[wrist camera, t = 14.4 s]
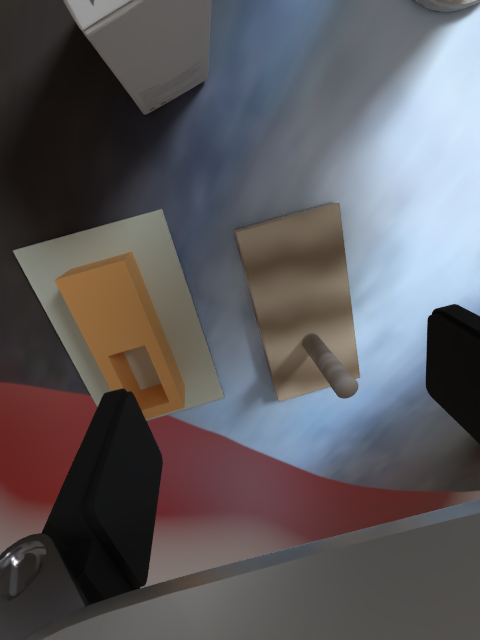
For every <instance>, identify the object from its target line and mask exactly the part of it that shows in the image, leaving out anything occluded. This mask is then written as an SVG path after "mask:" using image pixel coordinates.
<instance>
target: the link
mask: <svg viewBox="0 0 480 640" xmlns="http://www.w3.org/2000/svg"><path fill="white" fill-rule="evenodd" d="M55 282H56V284H57V286H58V288H59V290H60V292H61V294H62V296H63V298H64V300H65V302H66V304H67V306H68V308H69V310H70V312H71V314H72V316H73V317H74V319H75V321H76V323H77V325H78V327H79V329H80V331H81V333H82V335H83V337H84V339H85V341H86V343H87V345H88V347H89V349H90V351H91V353H92V355H93V357H94V358H95V360H96V362H97V364H98V366H99V368H100V370H101V372H102V374H103V376H104V378H105V380H106V382H107V384H108V386H109V388H110V390H111V391H114V390H118V389H122V388H124V389H125V390H126V391H127V392H129V391H132V392H133V394H134V395H135V398H136V400H137V402H138V404H139V406H140V408H141V411H142V413H143V415H144V417H145V419H149V418H152V417H156V416H159V415H162V414H166V413H169V412H172V411H175V410H179V409H182V408H185V384H184V382H183V379H182V377H181V374H180V372H179V369H178V367H177V364H176V361H175V359H174V356H173V354H172V351H171V349H170V346H169V344H168V341H167V339H166V336H165V334H164V331H163V329H162V326H161V324H160V321H159V318H158V316H157V313H156V311H155V308H154V306H153V303H152V301H151V298H150V296H149V293H148V291H147V288H146V286H145V283H144V280H143V278H142V275H141V273H140V270H139V268H138V265H137V263H136V260H135V258H134V255H133V253H132V252H128V253H125V254H121V255H118V256H114V257H111V258H107V259H104V260H100V261H97V262H93V263H90V264H86V265H83V266H79V267H76V268H72V269H70V270H68V271H67V272H65V273H64V274H63V275H61V276H60V277H58V278H57V279H55ZM144 345H145V346H146V349H147V351H148V353H149V356H150V358H151V360H152V363H153V365H154V367H155V370H156V372H157V374H158V377H159V379H160V381H161V384H159V385H155V386H152V387H149V388H145V389H142V390H141V389H140V387H139V385H138V382H137V380H136V378H135V376H134V374H133V372H132V370H131V367H130V365H129V363H128V361H127V359H126V357H125V354H124V351H127V350H131V349H134V348H138V347H141V346H144Z"/></svg>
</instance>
